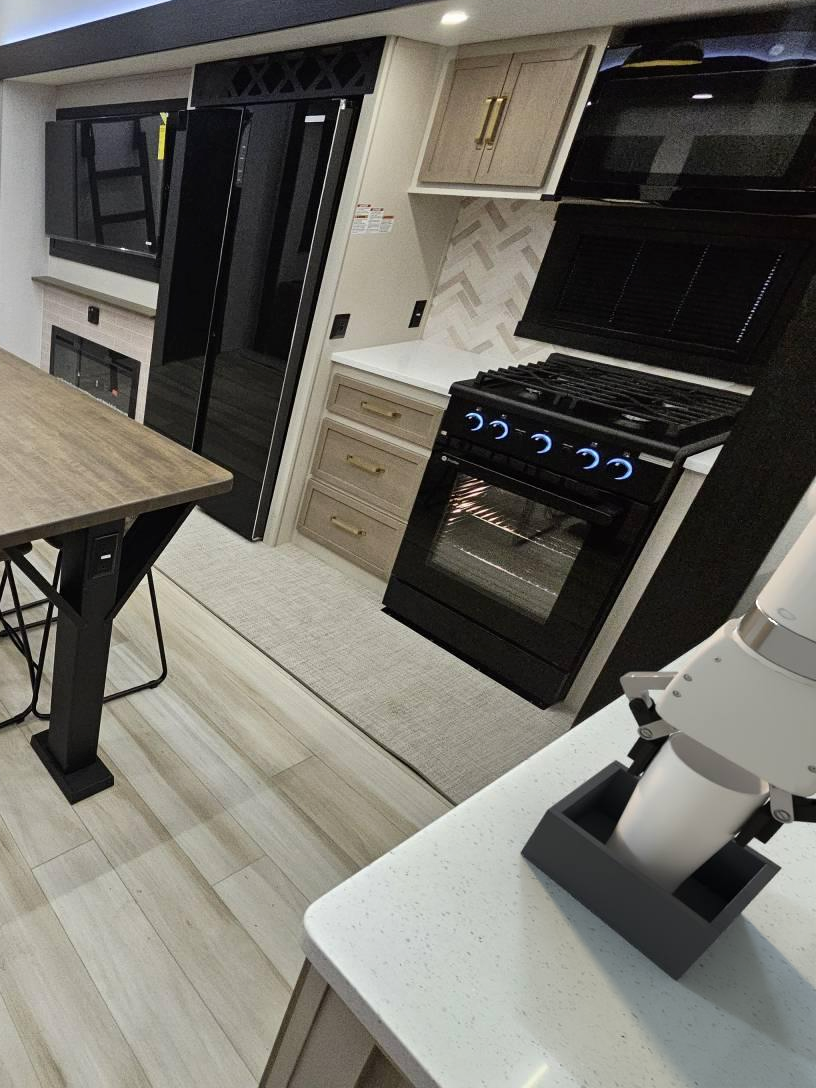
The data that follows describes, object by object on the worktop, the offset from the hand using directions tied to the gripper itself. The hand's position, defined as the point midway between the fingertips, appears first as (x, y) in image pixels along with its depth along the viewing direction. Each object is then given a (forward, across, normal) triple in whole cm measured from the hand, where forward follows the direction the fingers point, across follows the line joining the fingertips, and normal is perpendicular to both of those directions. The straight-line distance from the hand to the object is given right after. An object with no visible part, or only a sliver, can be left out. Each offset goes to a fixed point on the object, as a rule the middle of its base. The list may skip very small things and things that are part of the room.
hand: (690, 800), depth 59 cm
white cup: (+10, 0, 0) cm, 10 cm away
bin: (+12, 0, 0) cm, 12 cm away
